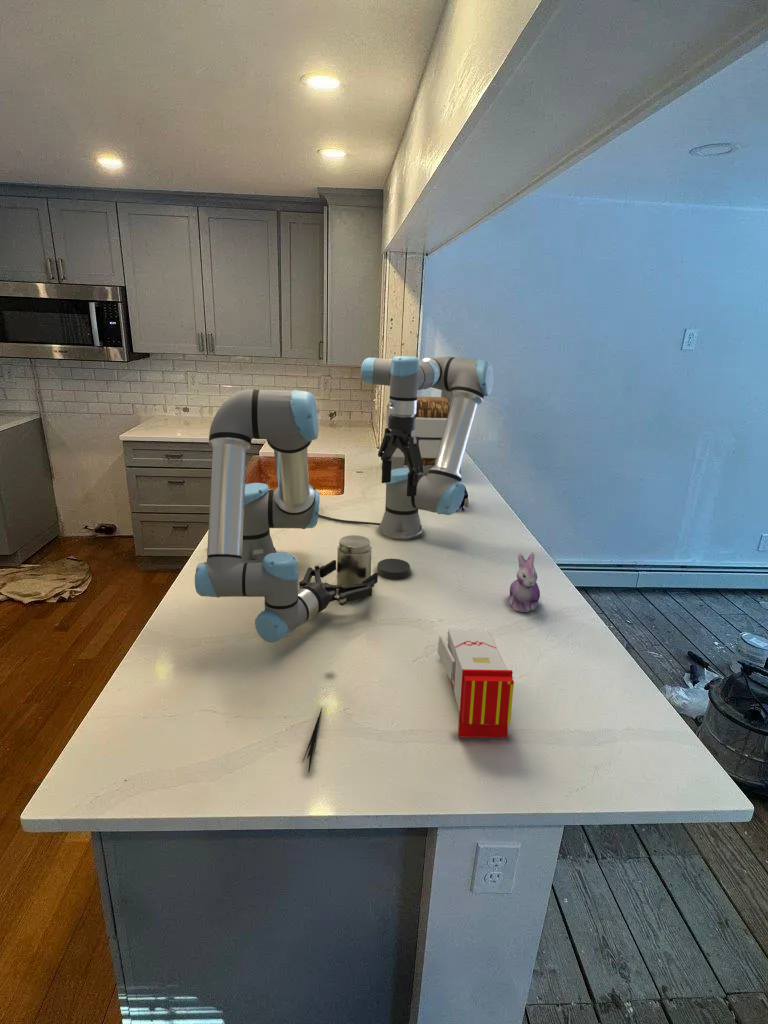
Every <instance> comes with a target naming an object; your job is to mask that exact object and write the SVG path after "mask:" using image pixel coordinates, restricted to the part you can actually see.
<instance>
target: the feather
mask: <svg viewBox="0 0 768 1024" xmlns="http://www.w3.org/2000/svg"><path fill="white" fill-rule="evenodd" d="M329 675H330V676H331V675H332V674H331V673H330V674H329ZM322 710H323V707H321V708H320V710H319V713H318V716H317V719H316V723H315V725H314V728H313V731H312V733H311V737H310V739H309V742H308V745H307V748H306V751H305V754H304V757H303V760H302V763H301V767H302V765H303V763H304V761H305V758H308V759H309V760H308V762H307V763H308V764H307V766H308V771H310V770H311V766H312V765H311V764H312V760H313V757H315V756H314V755H315V751H316V749H315V746H317V739H318V733H319V729H320V722H321V717H322V712H323V711H322ZM313 754H314V755H313ZM306 755H307V757H306Z"/></svg>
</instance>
